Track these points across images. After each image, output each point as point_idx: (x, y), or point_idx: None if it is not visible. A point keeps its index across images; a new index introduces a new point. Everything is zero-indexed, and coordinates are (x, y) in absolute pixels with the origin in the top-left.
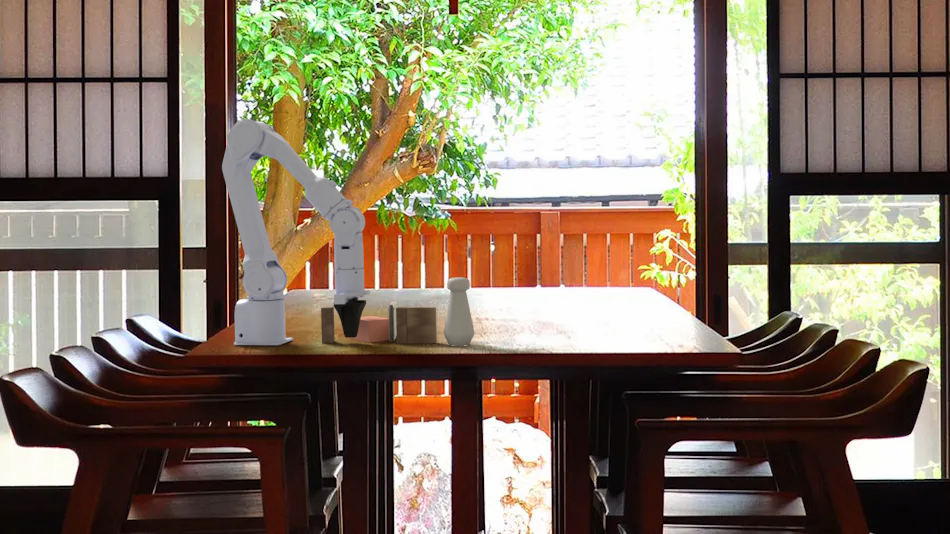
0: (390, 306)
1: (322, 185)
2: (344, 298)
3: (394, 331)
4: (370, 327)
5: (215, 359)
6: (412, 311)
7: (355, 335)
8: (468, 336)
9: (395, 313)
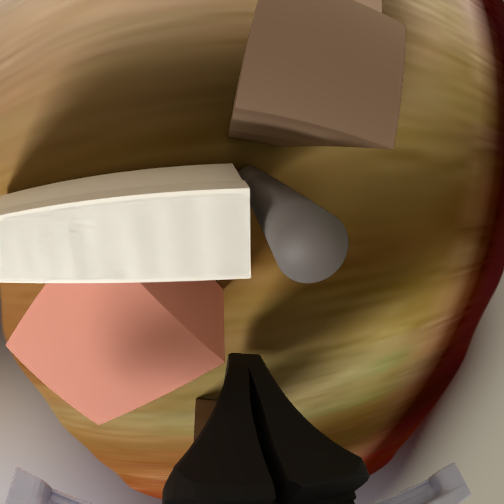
0: (341, 241)
1: None
2: (461, 482)
3: (188, 168)
4: (214, 325)
5: (390, 459)
6: None
7: (260, 358)
8: None
9: (5, 204)
